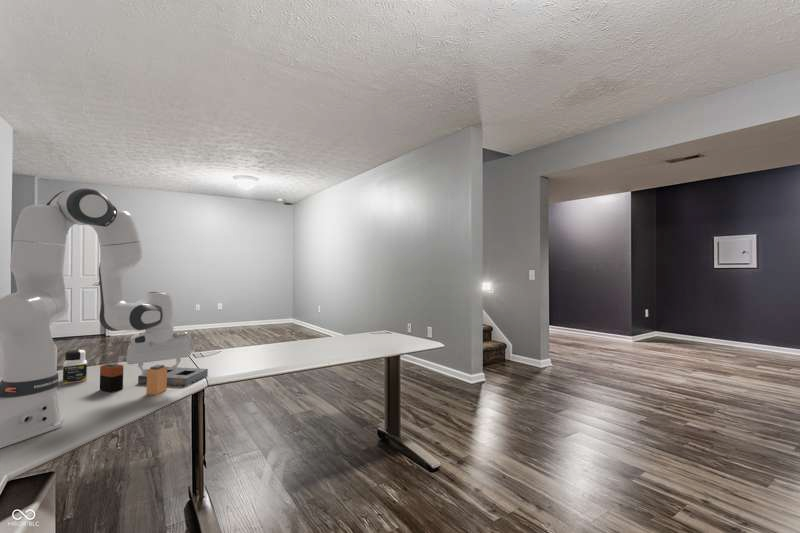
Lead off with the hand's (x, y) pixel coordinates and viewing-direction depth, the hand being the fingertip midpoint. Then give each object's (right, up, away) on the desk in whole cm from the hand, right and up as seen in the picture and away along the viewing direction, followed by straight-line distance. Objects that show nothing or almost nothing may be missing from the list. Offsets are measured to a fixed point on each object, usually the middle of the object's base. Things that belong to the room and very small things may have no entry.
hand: (160, 372), depth 138 cm
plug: (-1, -7, 0) cm, 7 cm away
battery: (-19, -7, +1) cm, 20 cm away
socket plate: (-4, -7, +15) cm, 17 cm away
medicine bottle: (-41, -7, +11) cm, 43 cm away
